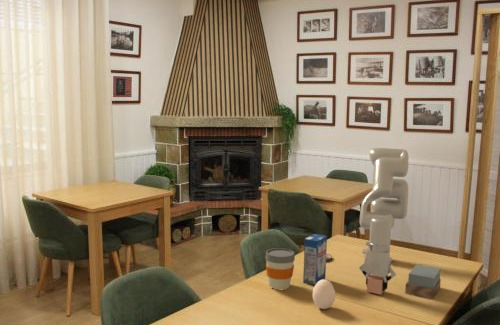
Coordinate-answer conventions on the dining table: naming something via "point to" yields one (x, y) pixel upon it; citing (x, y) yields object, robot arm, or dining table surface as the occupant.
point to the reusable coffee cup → (279, 267)
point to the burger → (328, 257)
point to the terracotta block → (375, 284)
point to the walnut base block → (422, 290)
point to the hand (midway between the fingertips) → (376, 287)
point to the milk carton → (314, 259)
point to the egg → (323, 294)
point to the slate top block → (424, 276)
